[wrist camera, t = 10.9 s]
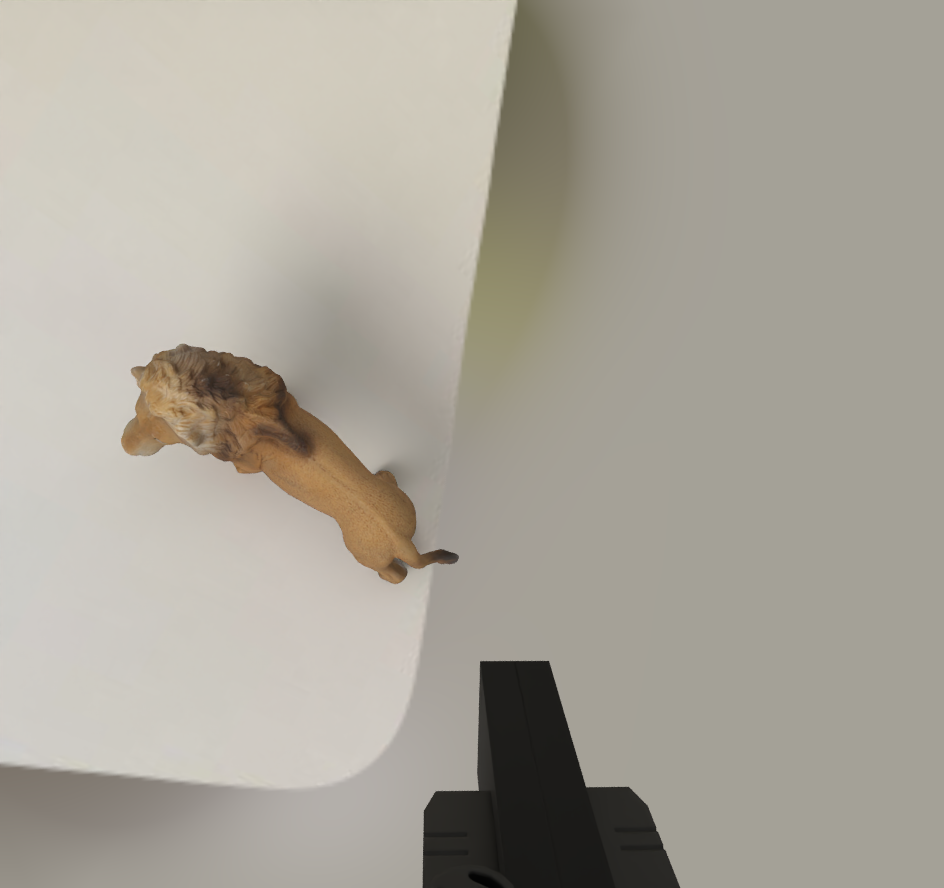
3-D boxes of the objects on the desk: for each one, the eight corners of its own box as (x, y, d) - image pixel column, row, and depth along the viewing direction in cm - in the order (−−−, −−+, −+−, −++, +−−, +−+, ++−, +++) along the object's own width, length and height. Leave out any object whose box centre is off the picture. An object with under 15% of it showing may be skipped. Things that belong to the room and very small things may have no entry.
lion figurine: (139, 449, 35) (76, 430, 26) (203, 346, 35) (164, 294, 27) (429, 607, 36) (464, 639, 28) (484, 505, 37) (534, 506, 28)
